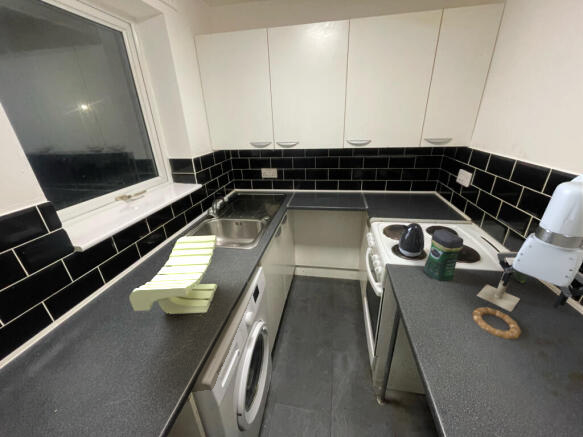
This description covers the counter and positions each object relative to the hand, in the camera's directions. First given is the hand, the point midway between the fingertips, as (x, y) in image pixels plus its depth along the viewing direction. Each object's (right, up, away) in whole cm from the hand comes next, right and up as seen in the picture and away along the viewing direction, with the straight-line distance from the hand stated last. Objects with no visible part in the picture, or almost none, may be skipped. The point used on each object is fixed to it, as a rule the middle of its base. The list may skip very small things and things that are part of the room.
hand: (529, 294), depth 60 cm
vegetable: (+22, -4, +26) cm, 34 cm away
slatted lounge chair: (-99, -10, +24) cm, 102 cm away
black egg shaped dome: (-8, +4, +45) cm, 45 cm away
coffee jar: (-5, -3, +30) cm, 31 cm away
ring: (-2, -11, +8) cm, 14 cm away
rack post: (+7, -8, +18) cm, 20 cm away
